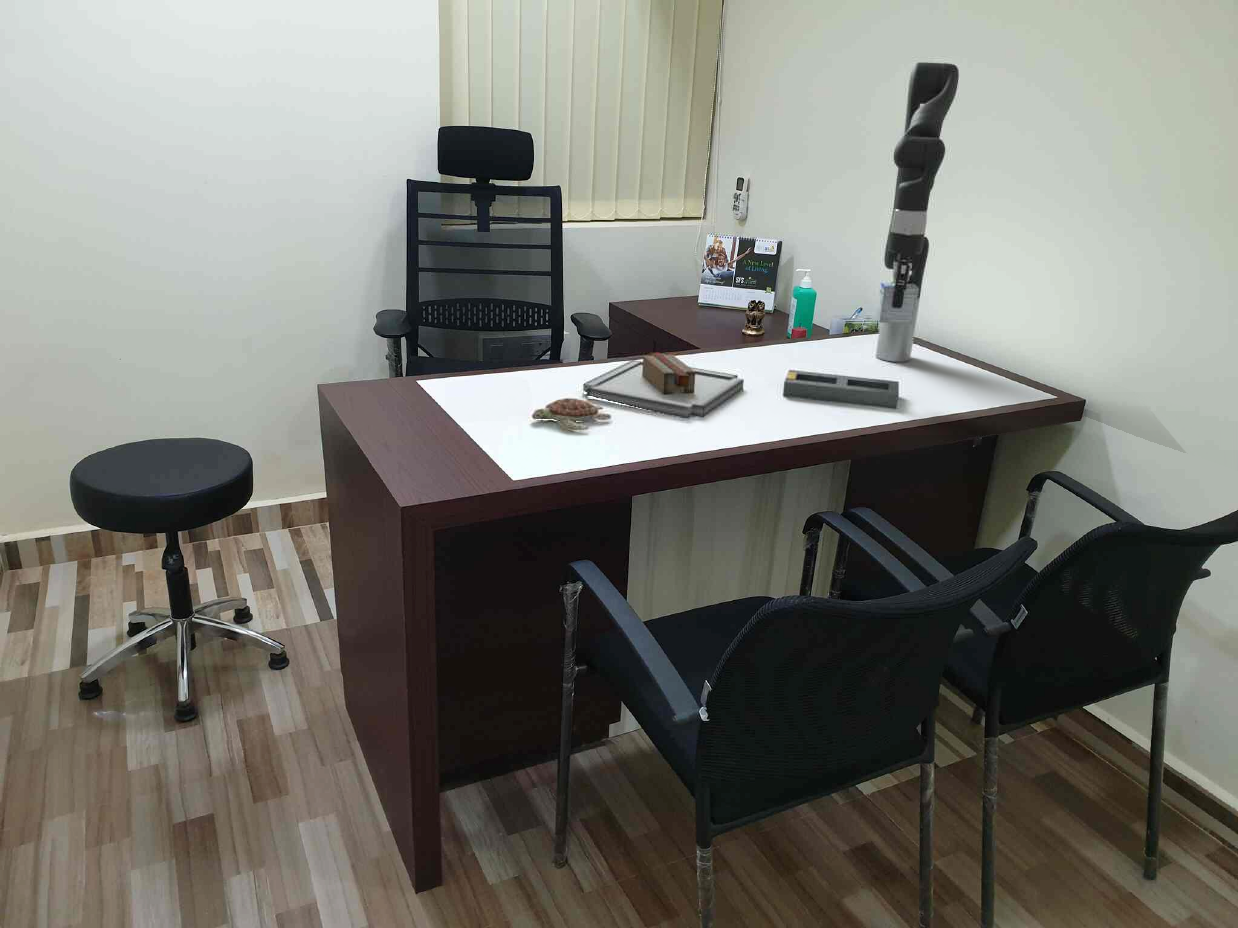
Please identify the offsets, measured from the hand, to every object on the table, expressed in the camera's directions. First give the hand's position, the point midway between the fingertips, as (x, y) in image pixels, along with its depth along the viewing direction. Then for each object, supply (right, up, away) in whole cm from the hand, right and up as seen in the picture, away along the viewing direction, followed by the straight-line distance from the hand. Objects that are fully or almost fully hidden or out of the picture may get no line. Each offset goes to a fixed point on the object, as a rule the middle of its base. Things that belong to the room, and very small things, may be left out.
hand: (896, 305), depth 212 cm
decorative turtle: (-75, -28, -17) cm, 82 cm away
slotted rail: (-12, -21, +5) cm, 24 cm away
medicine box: (0, -4, +2) cm, 4 cm away
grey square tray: (-54, -21, +4) cm, 58 cm away
